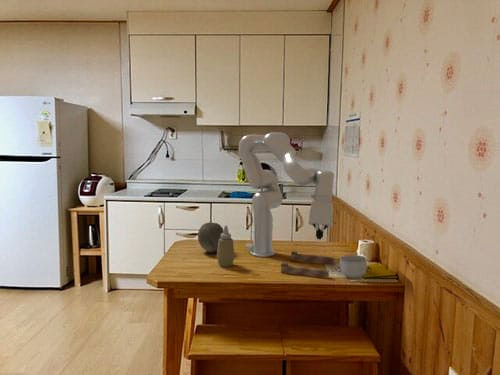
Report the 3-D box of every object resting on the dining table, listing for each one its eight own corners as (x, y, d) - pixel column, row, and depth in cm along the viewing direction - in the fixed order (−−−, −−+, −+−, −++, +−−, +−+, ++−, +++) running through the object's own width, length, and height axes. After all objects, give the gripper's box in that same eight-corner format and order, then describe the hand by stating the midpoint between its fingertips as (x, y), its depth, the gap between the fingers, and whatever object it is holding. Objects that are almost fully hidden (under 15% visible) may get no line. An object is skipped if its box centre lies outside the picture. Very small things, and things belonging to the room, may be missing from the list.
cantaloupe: (230, 250, 198) (231, 222, 196) (213, 257, 186) (213, 227, 185) (209, 246, 206) (209, 218, 204) (191, 252, 194) (191, 223, 192)
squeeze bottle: (237, 263, 178) (237, 225, 176) (230, 268, 170) (230, 228, 168) (220, 261, 180) (221, 223, 178) (213, 266, 173) (213, 227, 171)
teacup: (362, 282, 156) (363, 263, 155) (336, 277, 161) (336, 259, 160) (369, 272, 168) (370, 254, 167) (345, 268, 173) (345, 251, 172)
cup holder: (280, 272, 166) (281, 264, 166) (292, 258, 186) (292, 251, 186) (327, 278, 160) (328, 269, 159) (334, 263, 180) (334, 255, 179)
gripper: (304, 197, 170) (301, 238, 173) (339, 202, 165) (334, 243, 168) (308, 195, 177) (304, 234, 180) (341, 199, 172) (337, 239, 175)
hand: (319, 238), depth 174 cm, fingers closed
